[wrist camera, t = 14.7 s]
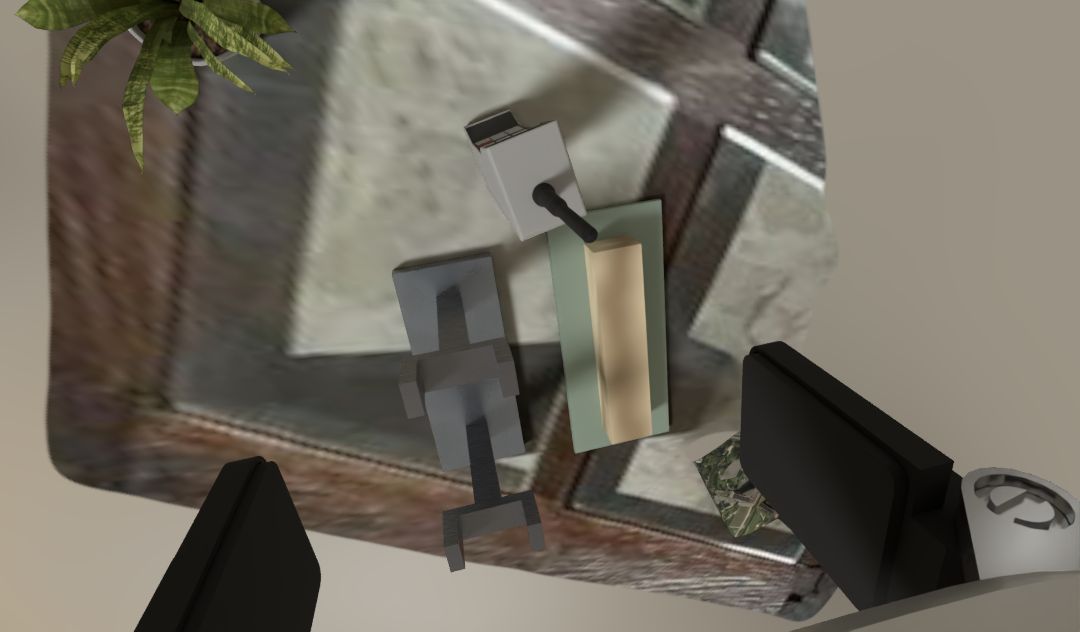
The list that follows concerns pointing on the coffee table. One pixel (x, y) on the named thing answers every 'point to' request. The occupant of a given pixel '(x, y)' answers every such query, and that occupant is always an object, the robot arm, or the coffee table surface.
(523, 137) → the vintage mobile phone
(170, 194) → the coffee table surface
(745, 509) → the eiffel tower figurine
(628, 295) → the maple rail
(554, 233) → the rubber mat
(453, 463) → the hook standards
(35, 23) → the house plant
